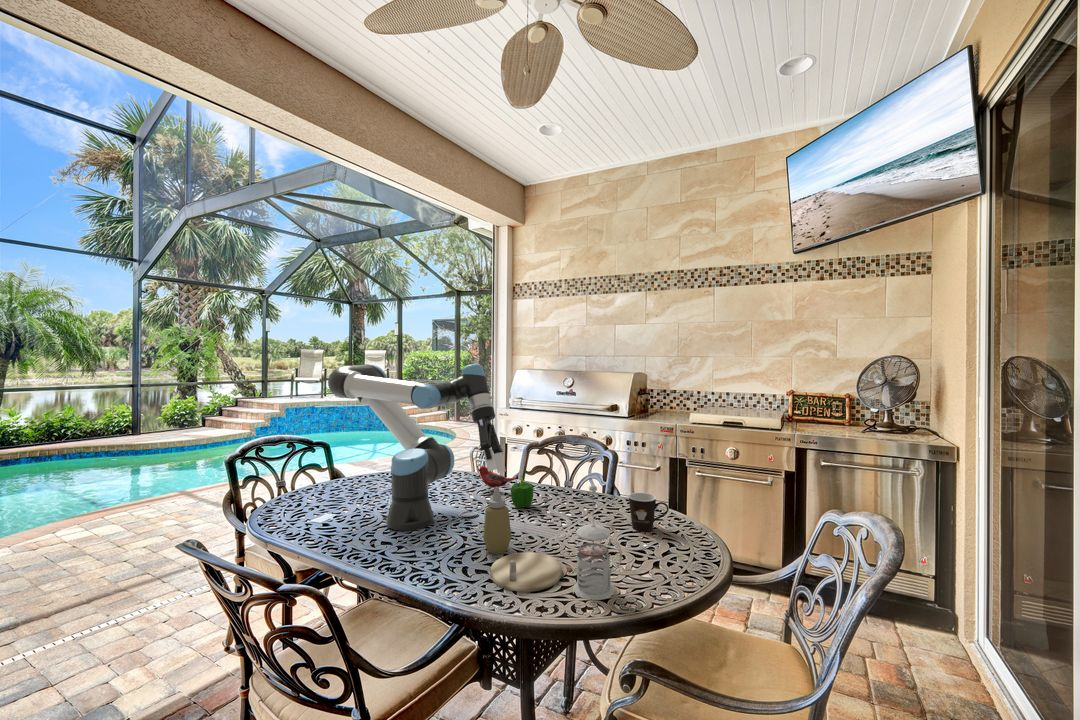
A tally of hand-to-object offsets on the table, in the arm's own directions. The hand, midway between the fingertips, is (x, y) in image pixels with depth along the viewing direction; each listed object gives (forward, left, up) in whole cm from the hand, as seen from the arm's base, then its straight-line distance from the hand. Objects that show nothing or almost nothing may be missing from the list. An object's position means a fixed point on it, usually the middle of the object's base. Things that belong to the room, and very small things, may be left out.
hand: (497, 471), depth 152 cm
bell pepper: (-2, +21, -18) cm, 28 cm away
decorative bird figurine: (-19, +32, -18) cm, 41 cm away
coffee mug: (+44, +18, -18) cm, 51 cm away
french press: (+42, -24, -18) cm, 52 cm away
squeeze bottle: (+9, -15, -18) cm, 25 cm away
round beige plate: (+23, -24, -18) cm, 38 cm away
